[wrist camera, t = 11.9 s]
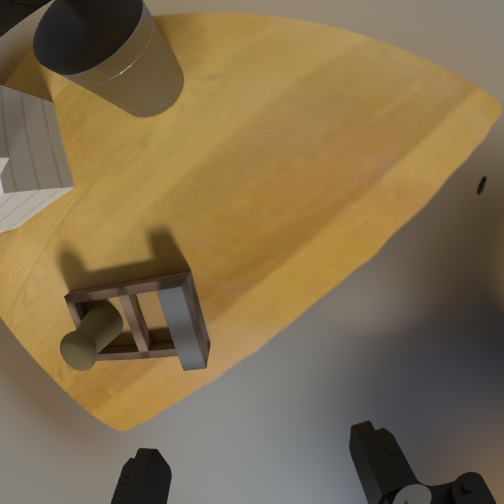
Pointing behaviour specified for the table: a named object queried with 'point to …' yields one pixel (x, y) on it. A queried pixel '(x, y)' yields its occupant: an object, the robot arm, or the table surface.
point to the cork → (91, 336)
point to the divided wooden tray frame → (175, 311)
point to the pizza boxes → (29, 158)
